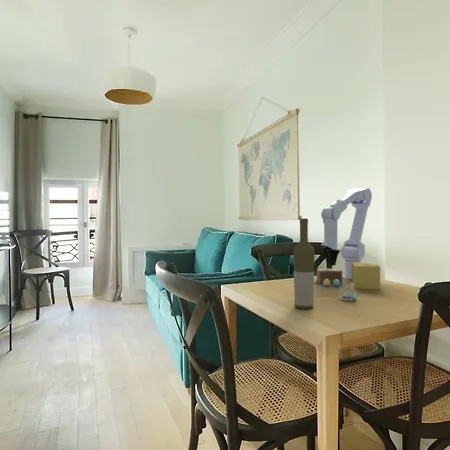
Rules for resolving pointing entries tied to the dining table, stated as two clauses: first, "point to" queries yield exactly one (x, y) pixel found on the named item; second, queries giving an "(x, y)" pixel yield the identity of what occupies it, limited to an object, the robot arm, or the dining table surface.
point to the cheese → (365, 275)
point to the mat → (331, 286)
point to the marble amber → (326, 282)
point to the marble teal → (336, 282)
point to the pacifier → (349, 294)
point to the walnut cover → (329, 275)
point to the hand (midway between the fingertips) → (330, 264)
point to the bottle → (304, 270)
